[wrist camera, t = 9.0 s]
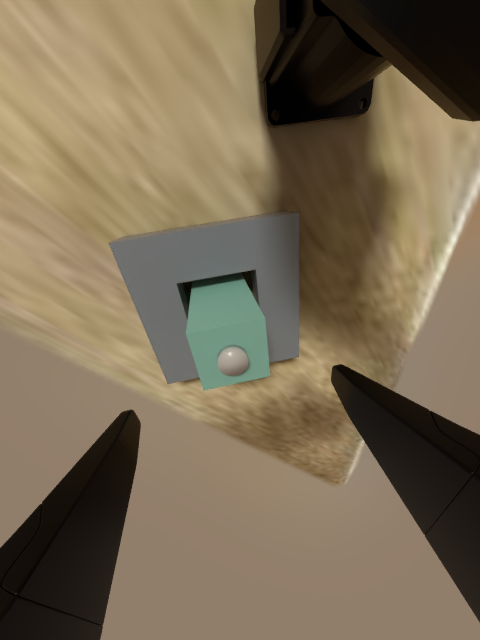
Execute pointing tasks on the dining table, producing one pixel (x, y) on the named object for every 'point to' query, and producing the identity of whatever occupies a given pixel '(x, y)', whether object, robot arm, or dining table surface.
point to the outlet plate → (210, 261)
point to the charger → (226, 332)
